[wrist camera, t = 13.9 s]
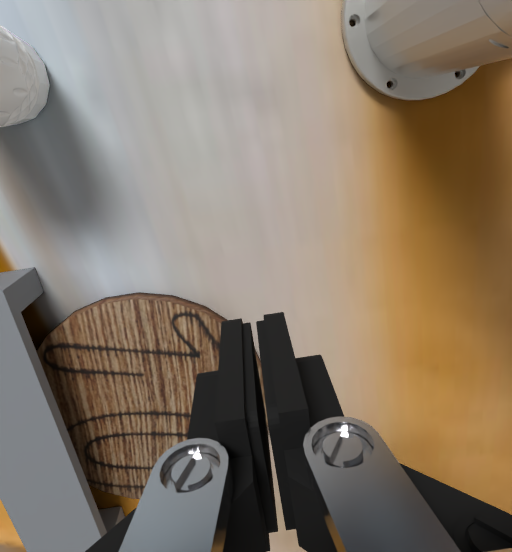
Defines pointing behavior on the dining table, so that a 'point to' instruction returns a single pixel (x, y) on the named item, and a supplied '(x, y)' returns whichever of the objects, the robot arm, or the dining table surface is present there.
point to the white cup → (20, 80)
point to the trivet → (129, 381)
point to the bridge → (39, 441)
